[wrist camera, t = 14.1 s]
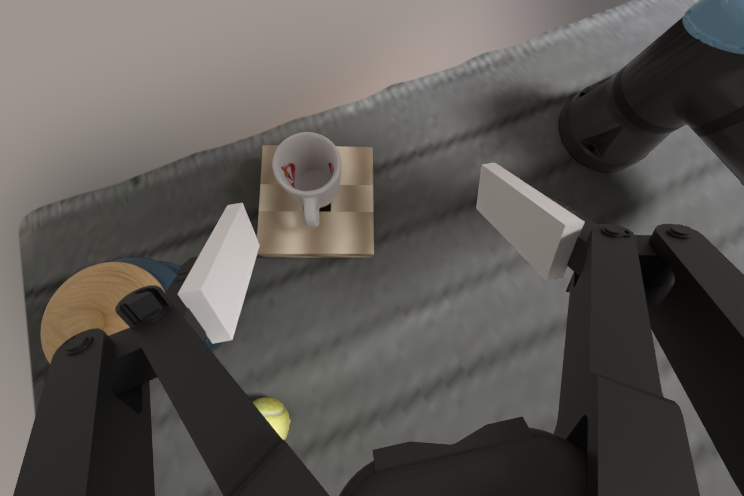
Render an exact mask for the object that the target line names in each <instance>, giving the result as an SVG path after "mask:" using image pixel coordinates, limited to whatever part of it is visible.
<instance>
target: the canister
mask: <svg viewBox="0 0 744 496" xmlns="http://www.w3.org/2000/svg"><path fill="white" fill-rule="evenodd" d="M181 267H182V266H178V265H175V264H172V263H169V262H163V261H156V260H153V259H149V258H144V257H125V258H120V259H116V260H112V261H109V262H107V263H101V264H96V265H93V266H90V267H88V268H85V269H83V270H81V271H79V272H78V273H76V274H75V275H73V276H72V277H70V278H69V279H68V280H67V281H65V282H64V283H63V284H62V285H61V286H60V287H59V289H58V290H57V291H56V292H55V293H54V295H53V296H52V298H51V299H50V301H49V303H48V305H47V307H46V309H45V312H44V315H43V319H42V323H41V343H42V348H43V351H44V354H45V356H46V358H47V360H48V362H49V363H50V364H51V360H52V357H53V355H54V353H55V351H56V350H57V349H58V348H59V347H60V346H61V345H62V344H63V343H64V342H65V341H66V340H68V339H69V338H71V337H72V336H74V335H77V334H79V333H81V332H83V331H86V330H89V329H95V328H99V329H101V330H103V331H104V332H105V333H106V334H107V335H108V336H109V335H112V334H114V333H117V332H119V331H122V330H124V329H127V328H130V327H129V326H128V325H127V324H126V323H125V322H124V321H123V320H122V319H121V317H120V316H119V315H118V314H117V313H116V312H115V307H116V306H117V304H118V303H119V301H120V300H122V299H123V298H124V297H125V296H126V295H128V294H129V293H131V292H133V291H135V290H137V289H139V288H142V287H145V286H150V285H157V286H159V287H161V289H162V290H163V291H164V293H166V291H167V290H168V288H169V286H170V285H171V283H173V280H174V278H175V276H177V273H178V272H179V270H180V268H181ZM203 342H204V343H205V344H206V345H207V347H208V348H209V349H210V350H211V352H213V351H214V350H215V349H216V348H217V347H218V346H219V345H220V344H221V343H222V342H219V343H214V344H212V342H211V341H210V339H209V338H208V336H207V335H206V336H205V339H204V341H203Z"/></svg>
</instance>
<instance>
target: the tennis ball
mask: <svg viewBox="0 0 744 496" xmlns="http://www.w3.org/2000/svg"><path fill="white" fill-rule="evenodd" d="M252 402H253V404H254V405H255V406H256V407H257V409H258V410H259V411H260V412H261V413H262V415H263V416H264V417H265V418H266V420H267V421H268V422H269V423H270V425H271V426H272V427H273V428H274V430H275V431H276V432H277V433H278V434H279V436H280V437H281V438H282V439H283V440H284V439H286V437H287V433H288V430H289V424H290V422H291V420H290V419H289V414H288V411H287V409H286V408H285V407H284V406H283V404H282V403H281V402H280V401H278V400H277V399H275V398H271V397H265V398H264V397H263V398H259V399H258V398H257V399H256V400H254V401H252Z"/></svg>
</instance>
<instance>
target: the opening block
mask: <svg viewBox="0 0 744 496" xmlns="http://www.w3.org/2000/svg"><path fill="white" fill-rule="evenodd" d="M278 146H279V145H263V150H262V167H261V183H260V200H259V216H258V233H257V239H258V242H259V244H260V246H259V250H258V253H257V254H258V255H260V256H262V257H265V258H372V257H373V255H374V217H373V147H340V146H336V148H337V149H338V151H339V154H340V157H341V164H342V166H341V176H340V185H339V190H338V193H337V195H336V197H335V199H334V200H333V201H332V202H331V203H330V204H328V205H327V206H324V207H321V208H319V226H318V227H315V228H310V227H308V226H307V224H306V222H305V218H304V209H303V205H301V204H300V203H298V202H297V201H296V200H295V199H294V198H293V197H292V196H291V195H290V194H289V193H288V192H287V191H286V190H285V189H283V188H282V187H281V185H280V184H279V183H278V182H277V180H276V178H275V176H274V173H273V168H272V161H273V156H274V153H275V151H276V149H277V147H278Z"/></svg>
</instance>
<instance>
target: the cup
mask: <svg viewBox="0 0 744 496" xmlns="http://www.w3.org/2000/svg"><path fill="white" fill-rule="evenodd" d="M341 166H342V164H341V157H340V154H339V151H338V149H337V148H336V146H335V145H334V144H333V143H332V142H331V141H330V140H329V139H328V138H326V137H324V136H322V135H320V134H317V133H313V132H301V133H297V134H294V135H291V136H289V137H288V138H286V139H285V140H284V141H282V142H281V144H280V145H279V146H278V147H277V149H276V151H275V153H274V156H273V161H272V168H273V173H274V176H275V178H276V180H277V182H278V183H279V184H280V185H281V187H282V188H283V189H285V190H286V191H287V192H288V193H289V194H290V195H291V196H292V197H293V198H294V199H295V200H296V201H297V202H298V203H300V204H301V205H303V209H304V218H305V222H306V224H307V226H308V227H310V228H315V227H318V226H319V208H321V207H324V206H327V205H328V204H330V203H331V202H332V201H333V200H334V199H335V197H336V195H337V193H338V190H339V185H340V176H341Z"/></svg>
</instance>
